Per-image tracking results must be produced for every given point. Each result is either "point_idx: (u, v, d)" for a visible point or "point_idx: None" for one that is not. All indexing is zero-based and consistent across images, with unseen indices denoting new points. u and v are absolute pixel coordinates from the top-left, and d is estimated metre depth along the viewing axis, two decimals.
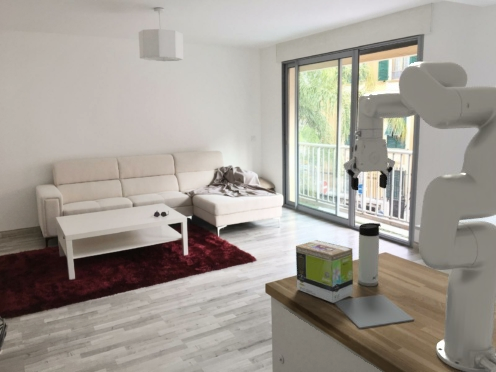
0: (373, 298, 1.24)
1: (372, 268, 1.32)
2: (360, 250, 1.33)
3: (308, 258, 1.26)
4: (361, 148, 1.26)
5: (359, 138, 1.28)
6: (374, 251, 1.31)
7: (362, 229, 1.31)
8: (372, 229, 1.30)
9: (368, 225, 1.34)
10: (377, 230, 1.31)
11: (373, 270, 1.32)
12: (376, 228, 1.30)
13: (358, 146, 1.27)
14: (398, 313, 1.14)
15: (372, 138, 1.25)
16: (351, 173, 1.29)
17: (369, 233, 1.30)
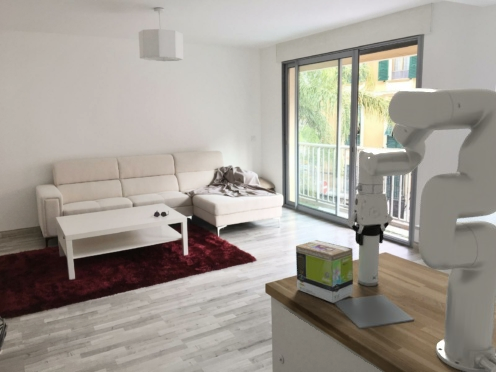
0: (373, 298, 1.24)
1: (372, 267, 1.32)
2: (360, 250, 1.33)
3: (308, 258, 1.26)
4: (361, 203, 1.28)
5: (359, 192, 1.30)
6: (375, 251, 1.31)
7: (362, 229, 1.32)
8: (372, 229, 1.30)
9: (368, 225, 1.34)
10: (377, 230, 1.31)
11: (373, 270, 1.32)
12: (376, 228, 1.30)
13: (359, 201, 1.29)
14: (398, 313, 1.14)
15: (372, 193, 1.27)
16: (355, 229, 1.31)
17: (369, 232, 1.30)
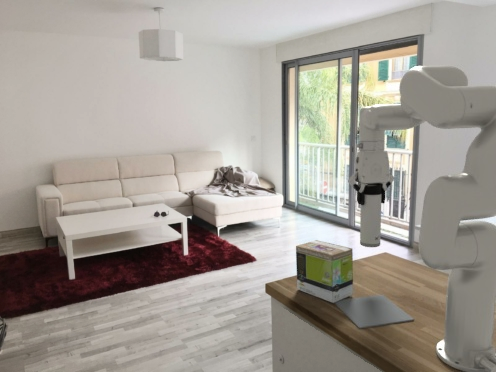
0: (373, 298, 1.24)
1: (374, 228, 1.29)
2: (362, 210, 1.31)
3: (308, 258, 1.26)
4: (363, 160, 1.26)
5: (361, 150, 1.28)
6: (377, 211, 1.29)
7: (364, 188, 1.29)
8: (374, 187, 1.27)
9: (370, 185, 1.32)
10: (379, 189, 1.28)
11: (376, 231, 1.30)
12: (378, 187, 1.28)
13: (360, 158, 1.27)
14: (398, 313, 1.14)
15: (374, 150, 1.25)
16: (357, 188, 1.28)
17: (371, 191, 1.28)
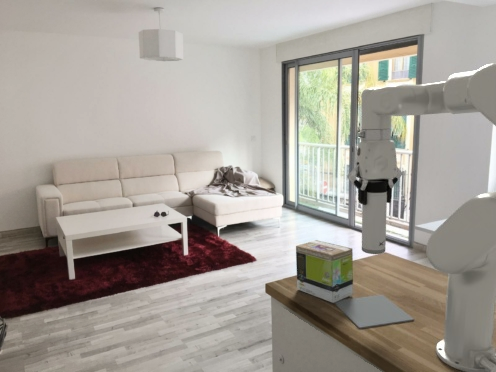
0: (373, 298, 1.24)
1: (379, 231, 1.10)
2: (364, 211, 1.11)
3: (308, 258, 1.26)
4: (365, 152, 1.06)
5: (363, 140, 1.08)
6: (381, 211, 1.09)
7: (366, 185, 1.09)
8: (378, 184, 1.08)
9: (374, 181, 1.12)
10: (384, 186, 1.09)
11: (380, 235, 1.10)
12: (383, 183, 1.08)
13: (361, 150, 1.07)
14: (398, 313, 1.14)
15: (378, 140, 1.05)
16: (358, 184, 1.09)
17: (375, 188, 1.08)
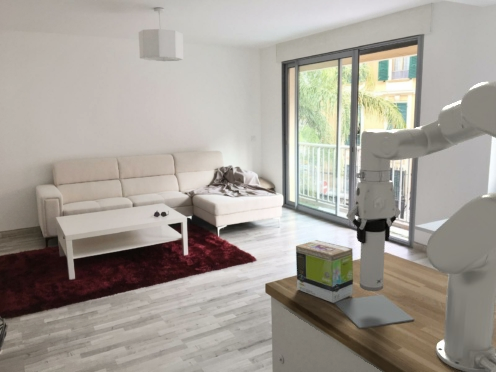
0: (373, 298, 1.24)
1: (377, 269, 1.12)
2: (362, 248, 1.13)
3: (308, 258, 1.26)
4: (364, 193, 1.08)
5: (362, 180, 1.10)
6: (379, 250, 1.11)
7: (365, 224, 1.11)
8: (377, 224, 1.10)
9: None
10: (383, 225, 1.11)
11: (378, 273, 1.12)
12: (382, 223, 1.10)
13: (361, 190, 1.09)
14: (398, 313, 1.14)
15: (377, 182, 1.07)
16: (357, 224, 1.11)
17: (373, 228, 1.10)
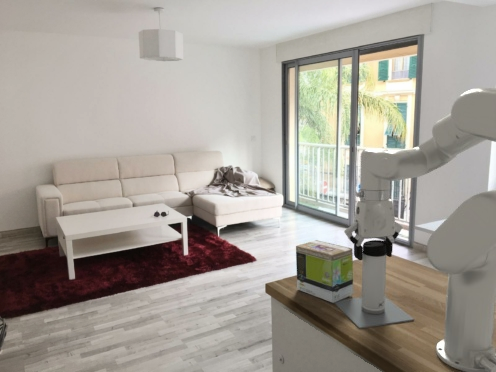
0: None
1: (378, 293, 1.13)
2: (364, 272, 1.14)
3: (308, 258, 1.26)
4: (364, 212, 1.09)
5: (362, 199, 1.10)
6: (381, 274, 1.12)
7: (366, 248, 1.12)
8: (378, 248, 1.11)
9: (373, 243, 1.15)
10: (384, 249, 1.11)
11: (379, 296, 1.13)
12: (383, 247, 1.11)
13: (360, 209, 1.09)
14: (398, 313, 1.14)
15: (377, 201, 1.08)
16: (354, 241, 1.11)
17: (374, 252, 1.11)
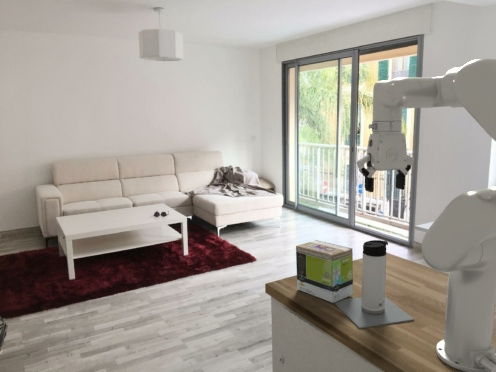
0: None
1: (378, 293, 1.13)
2: (364, 272, 1.14)
3: (308, 258, 1.26)
4: (377, 143, 1.09)
5: (374, 132, 1.11)
6: (381, 274, 1.12)
7: (366, 248, 1.12)
8: (378, 248, 1.11)
9: (373, 243, 1.15)
10: (384, 249, 1.11)
11: (380, 296, 1.13)
12: (383, 247, 1.11)
13: (374, 141, 1.10)
14: (398, 313, 1.14)
15: (390, 132, 1.08)
16: (365, 172, 1.11)
17: (374, 252, 1.11)
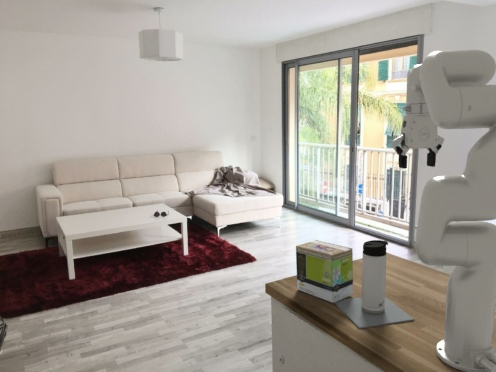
0: None
1: (378, 293, 1.13)
2: (364, 272, 1.14)
3: (308, 258, 1.26)
4: (411, 124, 1.21)
5: (408, 114, 1.23)
6: (381, 274, 1.12)
7: (366, 248, 1.12)
8: (378, 248, 1.11)
9: (373, 243, 1.15)
10: (384, 249, 1.11)
11: (380, 296, 1.13)
12: (383, 247, 1.11)
13: (407, 122, 1.22)
14: (398, 313, 1.14)
15: (423, 113, 1.20)
16: (399, 150, 1.23)
17: (374, 252, 1.11)
